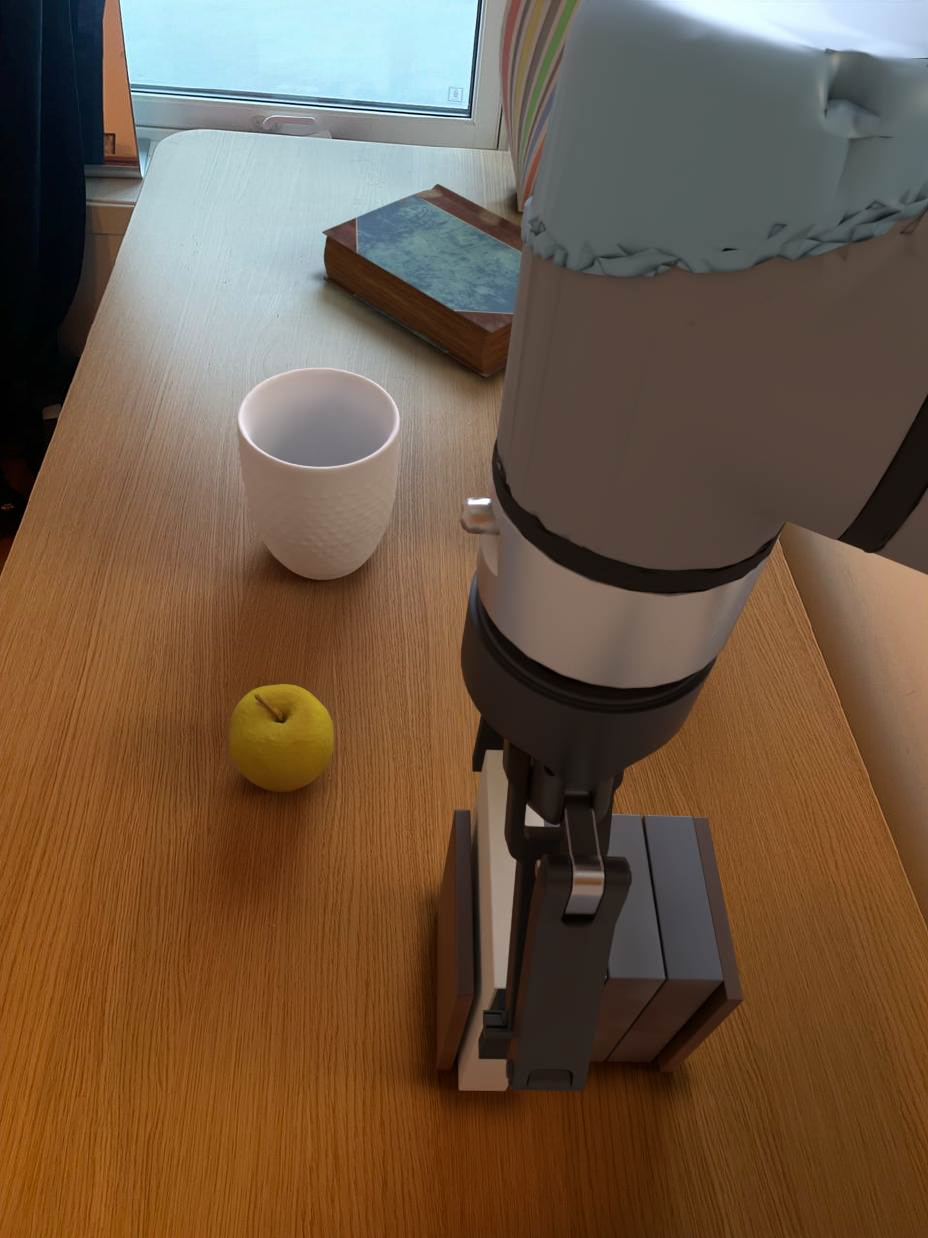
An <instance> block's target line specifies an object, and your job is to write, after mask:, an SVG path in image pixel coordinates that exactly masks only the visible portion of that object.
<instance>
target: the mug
mask: <svg viewBox="0 0 928 1238" xmlns="http://www.w3.org/2000/svg"><path fill="white" fill-rule="evenodd" d="M236 428H237V430H236V431H237V438H238V439H237V440H238V452H239V460H240V464H239V465H240V468H241V476H242V481H243V485H244V493H245V494H244V495H245V497H246V502H247V507H248V509H249V511H250V516H251V517H250V518H252V519H251V520H252V521H253V522H254V525H255V529H256V531H257V532H258V533H259V536H260V539H261V540H262V542H263V543H264V544H265V546H266V548H267V550H268V551H269V552H270V553H271V555H272V556H273V557H274V558H275V559H276V560H278V562H280V564H282V565H283V566H284V567H285V568H287V569H288V570H290V571H291V572H293V573H295V574H297V575H298V576H301V577H304V578H307V579H312V580H317V581H325V580H326V581H328V580H336V579H340V578H342V577H345V576H347V575H350V574H352V573H354V572H355V571H357V570H358V569H359V568H361V567H362V566H363V565H364V564H365V563H366V562H367V561H368V559H369V558H371V556H372V554H373V553H374V552H376V550H377V548H378V546H379V544H380V543H381V541H382V537H383V536H384V535H385V533H386V531H387V526H388V524H389V522H390V517H391V515H392V512H393V506H394V503H395V499H396V492H397V486H398V485H397V483H398V482H397V481H398V480H397V479H398V475H399V462H400V447H401V443H400V437H401V435H400V434H401V417H400V412H399V409H398V406H397V404H396V403H395V400H394V399H393V398H392V396H391V395H390V394H389V393H388V392H387V391H386V390H385V389H384V388H383V387H382V386H380V385H379V384H378V383H376V382H375V381H373V380H371V379H370V378H367V377H366V376H364V375H361V374H357V373H355V372H351V371H348V370H344V369H338V368H332V367H306V368H297V369H292V370H288V371H284V372H281V373H279V374H275V375H273V376H270V377H268V378H267V379H264V380H263V381H261V382H259V383H258V384H257V385H255V386H254V387H253V388H252V389H251V390H250V391H249V392H248V393H247V394H246V395H245V397H244V398H243V399H242V401H241V403H240V404H239V408H238V410H237V417H236Z"/></svg>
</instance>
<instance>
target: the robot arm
mask: <svg viewBox="0 0 928 1238" xmlns="http://www.w3.org/2000/svg"><path fill="white" fill-rule="evenodd" d="M524 207H525V208H524V212H523V213H522V217H521V221H520V227H521V239H522V240H523V248H522V255H521V263H520V270H519V277H518V285H517V292H516V299H515V307H514V314H513V321H512V329H511V336H510V343H509V351H508V358H507V365H506V366H505V373H504V381H503V389H502V396H501V401H500V402H501V403H500V411H499V417H498V424H497V432H496V437H495V442H494V444H493V448H492V449H493V450H492V456H491V470H490V471H491V472H490V476H489V483H488V484H489V485H488V486H489V496H475V497H474V496H473V497H472V496H471V497H467V498H466V499H465V500H464V501H463V502H462V503H461V510H460V519H459V523H460V527H461V528H462V529H463V530H464V531H465V532H466V533H467V534H472V535H480V536H479V538H480V539H479V543H478V549H477V556H476V569H475V571H474V574H473V576H472V579H471V584H470V588H469V594H468V600H467V607H466V613H465V621H464V626H463V632H462V633H463V634H462V637H461V638H462V639H461V646H460V647H461V648H460V669H461V674H462V679H463V682H464V685H465V688H466V690H467V691H466V692H467V694H468V696H469V697H470V700H471V701H472V703H473V705H474V707H475V708H476V710H477V711H478V712H479V714H480V718H479V723H478V728H477V733H476V738H475V743H474V747H473V753H472V756H471V757H472V758H471V761H472V762H471V769H472V770H471V772H473V773H481V772H482V768H483V763H484V758H485V753H486V750H503V760H502V763H503V768H504V771H505V774H506V777H507V780H508V789H507V802H506V814H505V827H504V836H505V840H506V844H507V847H508V851H509V853H510V855H511V857H513V858H514V859H515V860H516V869H515V881H514V893H513V906H512V918H511V930H510V943H509V955H508V967H507V979H506V989H497V992H496V995H495V997H494V1000H493V1003H492V1005H491V1008H490V1010H483V1029H482V1031H481V1034H480V1037H479V1039H478V1052H479V1059H506V1061H507V1062H506V1078H508V1087H509V1088H510V1090H511V1091H541V1092H543V1091H544V1092H545V1091H547V1092H548V1091H550V1092H551V1091H553V1092H555V1091H556V1092H557V1091H558V1092H560V1091H561V1092H563V1091H564V1092H583V1091H584V1090H585V1088H586V1083H587V1079H588V1077H589V1068H590V1062H591V1061H590V1057H591V1052H592V1047H593V1041H594V1036H595V1031H596V1026H597V1020H598V1015H599V1010H600V1004H601V999H602V994H603V988H604V983H605V978H606V973H607V967H608V962H609V957H610V951H611V946H612V941H613V935H614V930H615V925H616V922H617V920H618V918H619V915H620V913H621V910H622V908H623V906H624V903H625V901H626V899H627V896H628V893H629V887H630V886H631V883H632V873H631V870H630V865H629V863H628V861H627V859H626V857H616V856H607V854H608V851H609V842H610V832H611V822H612V814H613V811H614V810H613V809H614V808H613V807H614V801H615V794H616V791H617V790H618V789H619V788H620V786H621V785H622V784H623V781H624V775H625V770H626V769H627V768H629V767H631V766H633V765H634V764H636V763H638V762H640V761H642V760H644V759H646V758H648V757H649V756H651V755H652V754H654V753H656V752H657V751H658V750H660V749H662V748H663V747H664V746H666V744H668V743H669V742H670V741H671V740H672V739H673V738H674V737H675V736H676V735H677V734H678V733H679V731H680V730H681V728H683V726H684V724H685V723H686V721H687V719H688V717H689V715H690V713H691V711H692V709H693V707H694V705H695V703H696V701H697V699H698V697H699V696H700V693H701V691H702V690H703V687H704V685H705V683H706V681H707V679H708V678H709V675H710V673H711V672H712V670H713V667H714V666H715V664H716V661H717V659H718V657H719V654H720V653H721V652H723V651H724V649H725V647H726V645H727V643H728V641H729V639H730V637H731V636H732V634H733V631H734V629H735V627H736V625H737V623H738V621H739V618H740V617H741V615H742V613H743V610H744V608H745V607H746V604H747V603H748V600H749V598H750V597H751V594H752V592H753V590H754V589H755V586H756V584H757V582H758V580H759V578H760V576H761V573H763V570H764V567H765V566H766V563H767V561H768V559H769V558H770V557H771V554H772V551H774V547H775V546H776V544H777V542H778V540H779V539H780V536H781V534H782V533H783V529H784V527H785V525H786V523H787V522H788V523H790V524H793V525H796V526H798V527H800V528H803V529H805V530H808V531H810V532H813V533H816V534H817V535H820V536H823V537H826V538H828V539H831V540H833V541H838V542H841V543H843V544H845V545H849V546H851V547H853V548H856V549H859V550H861V551H863V553H866V554H873V555H877V556H880V557H881V558H884V559H887V560H889V561H891V562H894V563H897V564H899V565H902V566H904V567H907V568H909V569H912V570H914V571H917V572H919V573H922V574H923V575H927V576H928V0H582V1H581V2H580V4H579V6H578V8H577V10H576V13H575V15H574V17H573V20H572V22H571V24H570V27H569V31H568V34H567V38H566V43H565V47H564V52H563V57H562V61H561V66H560V71H559V75H558V80H557V84H556V89H555V94H554V98H553V103H552V108H551V112H550V117H549V122H548V126H547V131H546V135H545V140H544V145H543V149H542V154H541V159H540V163H539V168H538V173H537V177H536V182H535V186H534V191H533V196H531V197H530V198H529V199H528V200H526V202H525V204H524ZM526 805H528V806H529V807H530V808H531V809H532V810H533V811H534V812H535V813H537V814H538V815H539V816H540V817H541V818H542V819H543V820H545V821H546V822H548V823H550V824H553V825H558V824H559V827H544V826H527V825H525V817H526Z"/></svg>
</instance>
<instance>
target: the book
mask: <svg viewBox="0 0 928 1238" xmlns="http://www.w3.org/2000/svg"><path fill="white" fill-rule="evenodd" d="M521 227H522V226H519V225H517V224H516V223H513V222H511V221H509V220H507V219H505V218H504V217H502V216H500V215H498V214H496V213H494V212H493V211H491V210H488V209H486V208H485V207H483V206H481V205H479V204H477V203H475V202H474V201H472V200H470V199H468V198H466V197H464V196H463V195H460V194H459V193H456V192H455V191H453V190H451V189H449V188H448V187H445V186H443V185H441V184H440V183H436V184H435V185H434V186H433V187H432V188H431V189H426V190H422V191H419V192H416V193H413V194H411V195H408V196H406V197H403V198H401V199H397V200H395V201H393V202H390V203H387V204H385V205H383V206H381V207H378V208H375V209H373V210H370V211H368V212H365V213H363V214H361V215H359V216H356V217H354V218H351V219H349V220H347V221H344V222H342V223H340V224H337V225H334V226H333V227H330V228H327V229H326V230H323V231H322V232H321V233H322V234H323V235H325V236H326V238H325V243H324V244H325V245H324V249H323V263H324V268H325V273H326V274H324V275H323V278H324V279H325V280H327V281H329V282H330V283H331V284H333V285H335V286H336V287H338V288H340V289H341V290H342V291H344V292H346V293H348V294H350V295H351V296H353V297H354V298H356V299H358V300H359V301H361V302H362V303H364V304H366V306H369V308H372V309H373V310H375V311H377V312H378V313H380V314H382V315H383V316H385V317H386V318H388V319H390V320H391V321H393V322H394V323H396V324H398V325H399V326H400V327H402V328H404V329H406V330H407V331H409V332H410V333H412V334H414V335H415V336H417V337H419V338H420V339H422V340H423V341H425V342H426V343H429V345H431V346H433V347H435V348H436V349H437V350H439V351H441V352H443V353H444V354H446V355H448V357H450V358H453V359H454V360H456V361H457V362H458V363H461V364H462V365H464V366H465V367H467V368H469V369H470V370H472V371H473V372H475V373H476V374H478V375H480V376H482V377H483V378H485V379H486V378H489V377H490V376H492V375H494V374H495V373H497V372H499V371H500V370H502V369H504V368H506V365H507V358H508V351H509V343H510V336H511V329H512V321H513V314H514V307H515V299H516V292H517V285H518V277H519V270H520V263H521V255H522V248H523V240H522V239H521Z"/></svg>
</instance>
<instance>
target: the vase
mask: <svg viewBox="0 0 928 1238" xmlns="http://www.w3.org/2000/svg"><path fill="white" fill-rule="evenodd" d="M581 1H582V0H506V2H505V6H504V11H503V16H502V22H501V28H500V37H499V47H498V48H499V50H498V51H499V53H498V72H499V75H498V76H499V89H500V99H501V108H502V113H503V118H504V120H503V121H504V126H505V131H506V136H507V142H508V146H509V152H510V156H511V162H512V167H513V173H514V178H515V187H516V188H515V189H516V199H517V211H518V212H524V208H525V207H524V204H525V202H526V200H528V199H529V198H530V197H531V196H533V191H534V186H535V182H536V177H537V173H538V168H539V163H540V159H541V154H542V149H543V145H544V140H545V135H546V131H547V126H548V122H549V117H550V112H551V108H552V103H553V98H554V94H555V89H556V84H557V80H558V75H559V71H560V66H561V61H562V57H563V52H564V47H565V43H566V38H567V34H568V31H569V27H570V24H571V22H572V20H573V17H574V15H575V13H576V10H577V8H578V6H579V4H580V2H581Z"/></svg>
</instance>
